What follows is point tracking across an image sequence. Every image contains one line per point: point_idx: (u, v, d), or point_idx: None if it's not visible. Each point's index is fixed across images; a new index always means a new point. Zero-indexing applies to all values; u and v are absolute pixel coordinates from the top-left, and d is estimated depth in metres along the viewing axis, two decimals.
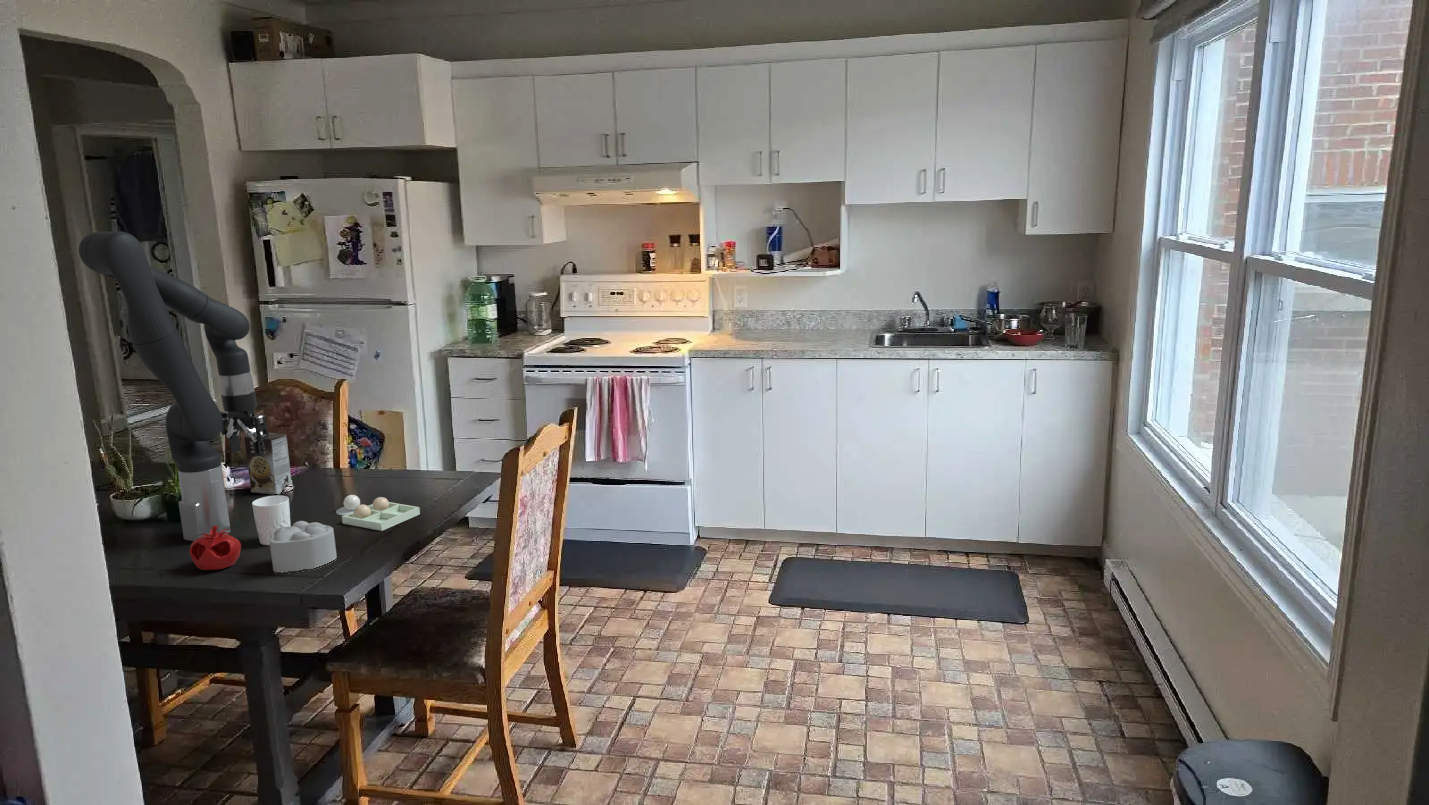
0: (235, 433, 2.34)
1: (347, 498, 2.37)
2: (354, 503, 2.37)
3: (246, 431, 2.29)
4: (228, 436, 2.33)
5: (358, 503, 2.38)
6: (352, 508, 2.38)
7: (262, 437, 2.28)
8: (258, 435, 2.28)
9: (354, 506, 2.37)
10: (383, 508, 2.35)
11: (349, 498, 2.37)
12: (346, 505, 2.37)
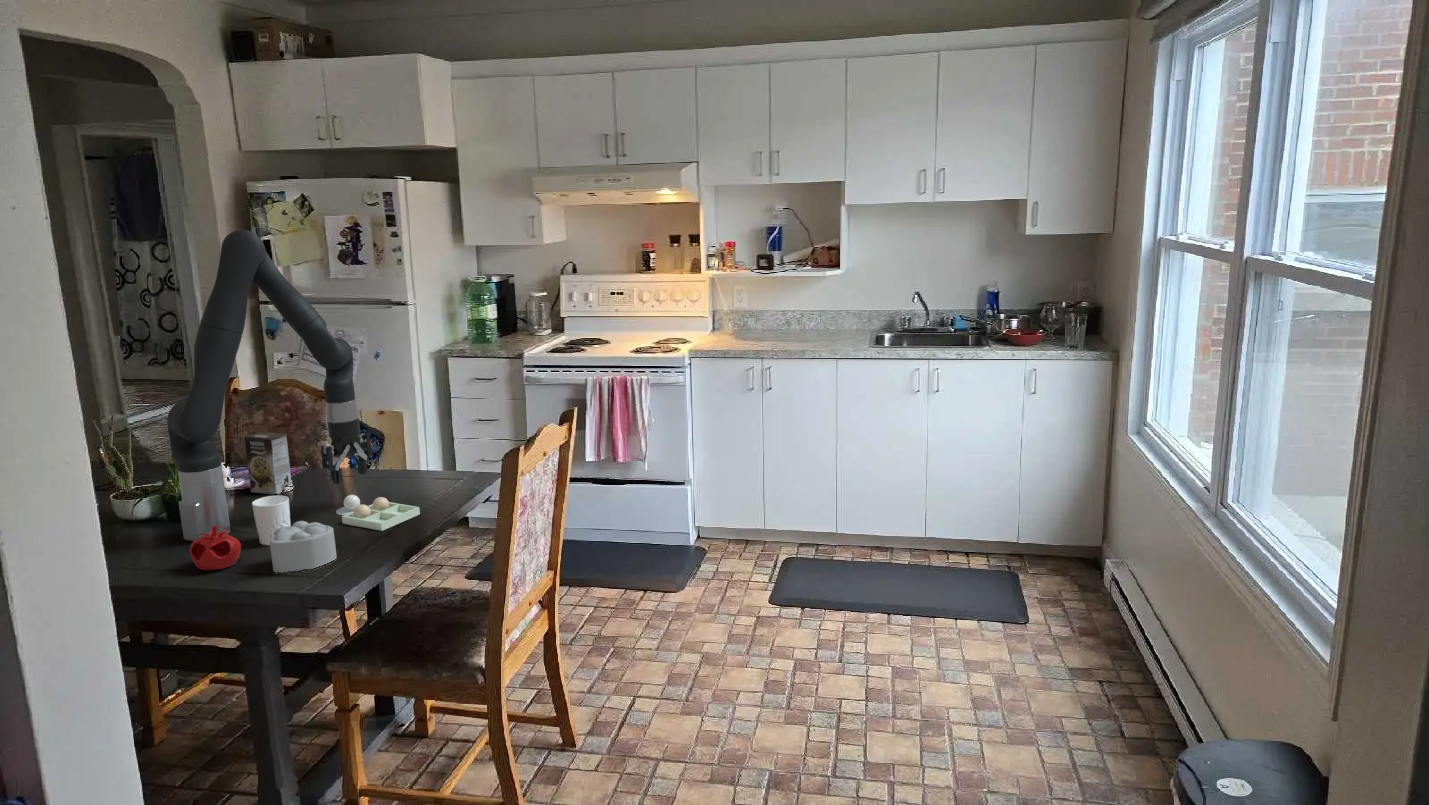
0: None
1: (347, 498, 2.37)
2: (354, 503, 2.37)
3: (361, 451, 2.39)
4: (338, 468, 2.32)
5: (358, 503, 2.38)
6: (352, 508, 2.38)
7: None
8: (370, 451, 2.42)
9: (354, 506, 2.37)
10: (383, 508, 2.35)
11: (349, 498, 2.37)
12: (346, 505, 2.37)
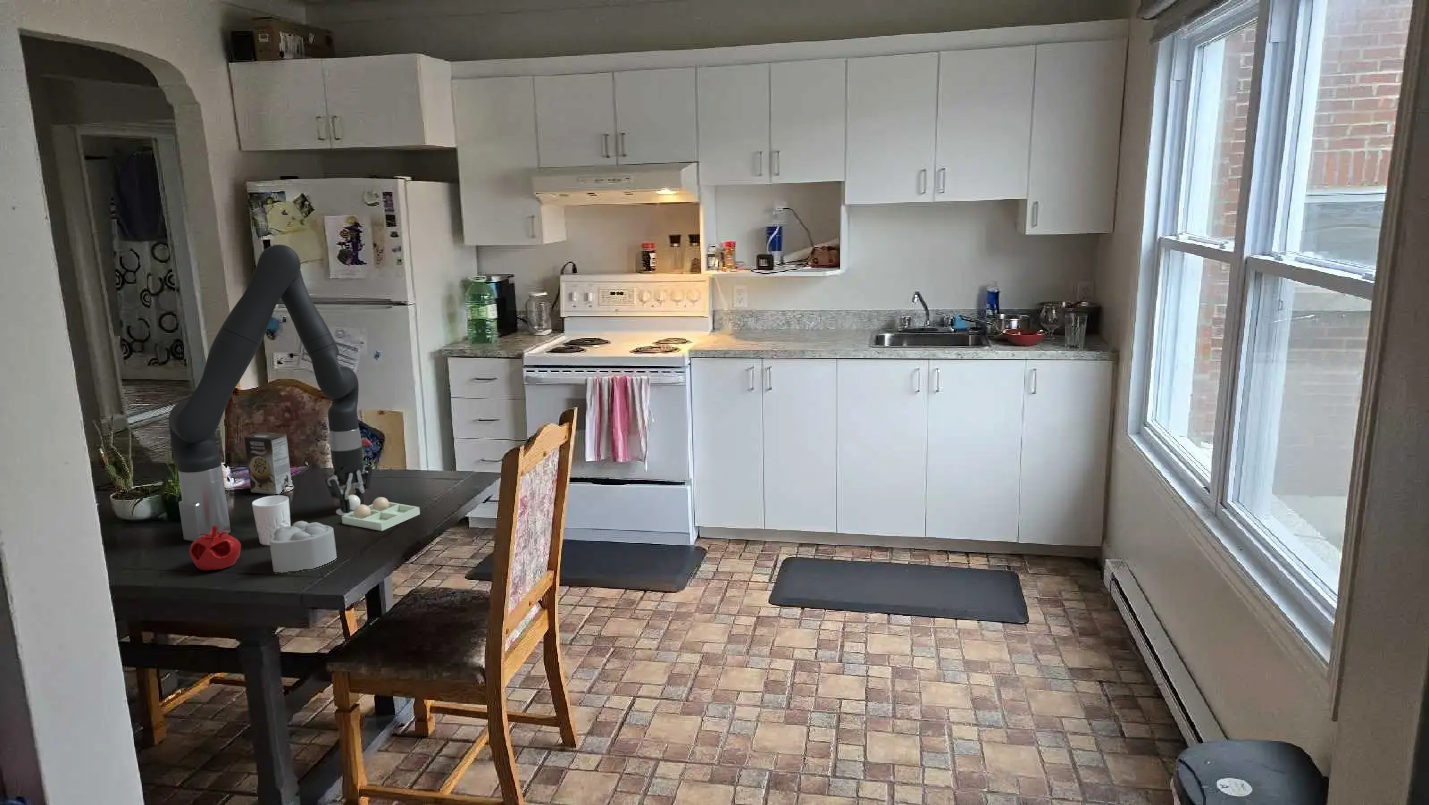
0: (342, 494, 2.36)
1: None
2: (354, 503, 2.37)
3: (361, 482, 2.39)
4: (347, 497, 2.36)
5: (358, 503, 2.38)
6: (352, 508, 2.38)
7: None
8: (368, 484, 2.42)
9: (354, 506, 2.38)
10: (383, 508, 2.35)
11: (349, 497, 2.37)
12: None
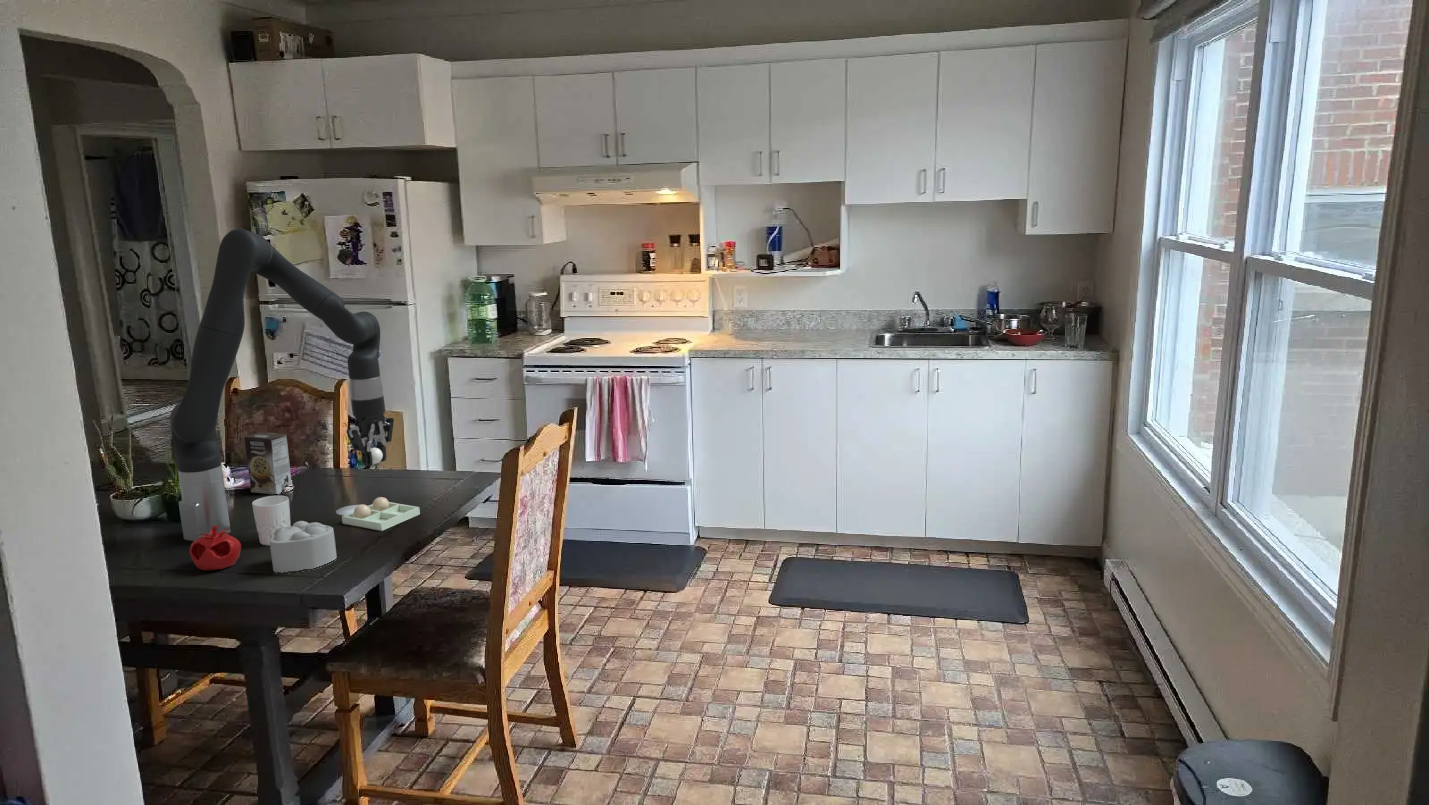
0: None
1: None
2: (376, 456, 2.26)
3: (383, 434, 2.27)
4: (369, 449, 2.24)
5: (381, 456, 2.27)
6: (375, 461, 2.26)
7: None
8: (390, 436, 2.30)
9: (377, 459, 2.26)
10: (383, 508, 2.35)
11: (371, 450, 2.26)
12: None
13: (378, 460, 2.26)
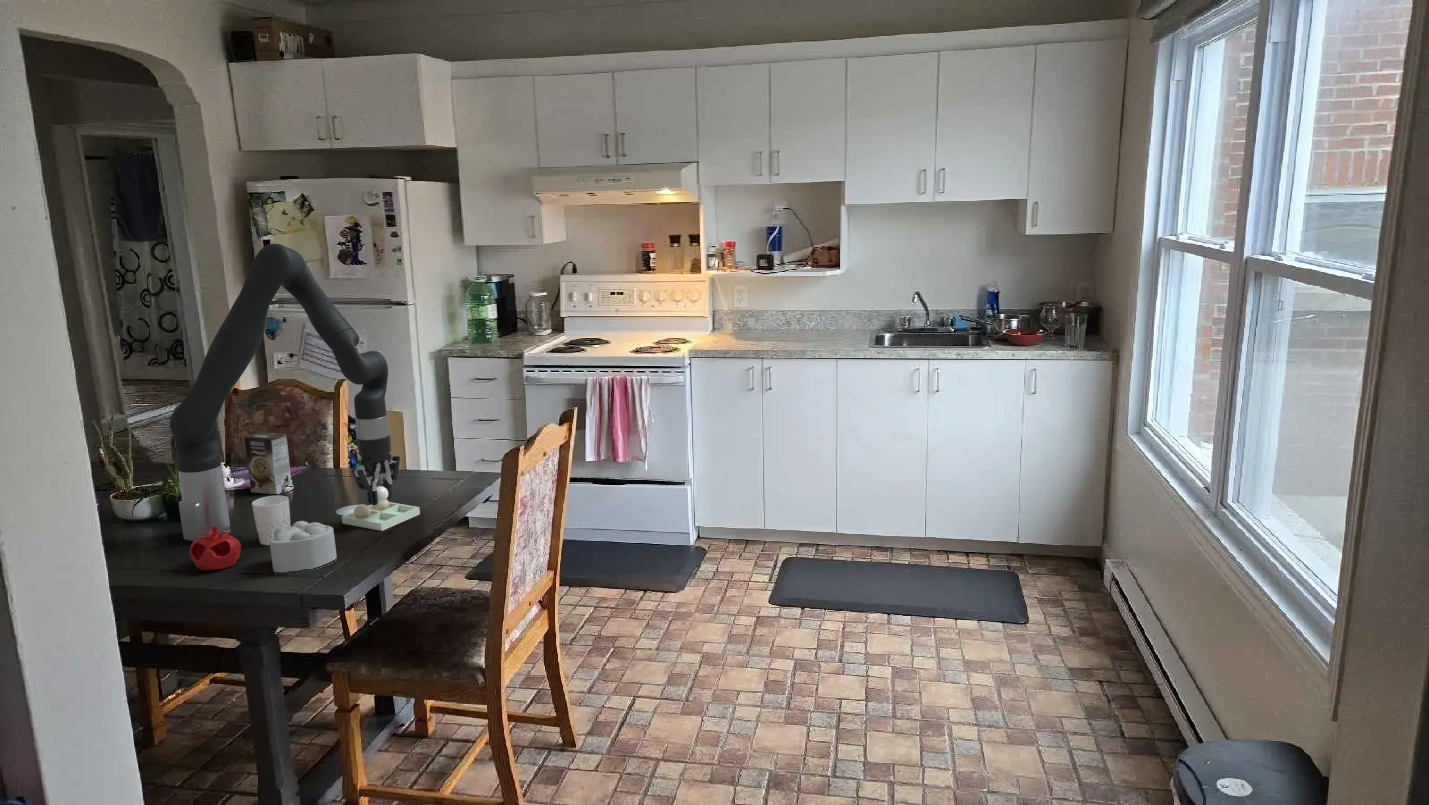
0: None
1: None
2: (382, 495, 2.25)
3: (389, 473, 2.27)
4: (374, 488, 2.24)
5: (386, 495, 2.27)
6: (380, 500, 2.26)
7: None
8: (396, 475, 2.30)
9: (382, 498, 2.26)
10: (383, 508, 2.35)
11: (377, 489, 2.26)
12: None
13: (384, 499, 2.26)
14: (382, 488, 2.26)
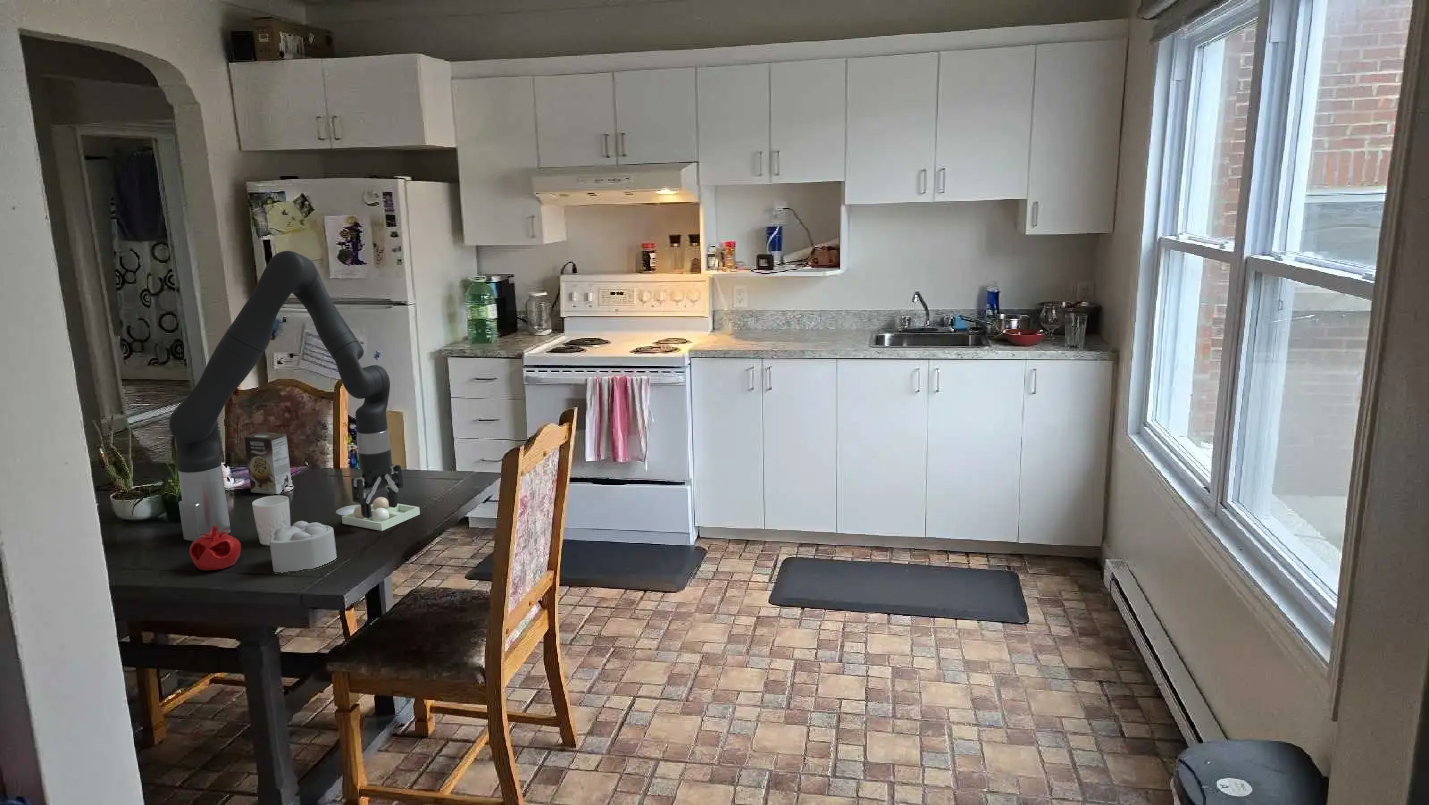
0: None
1: (376, 511, 2.26)
2: (383, 517, 2.26)
3: (392, 484, 2.28)
4: (368, 501, 2.22)
5: (387, 516, 2.27)
6: None
7: None
8: (401, 483, 2.32)
9: (383, 520, 2.27)
10: None
11: (378, 511, 2.26)
12: (375, 518, 2.26)
13: None
14: (383, 510, 2.27)
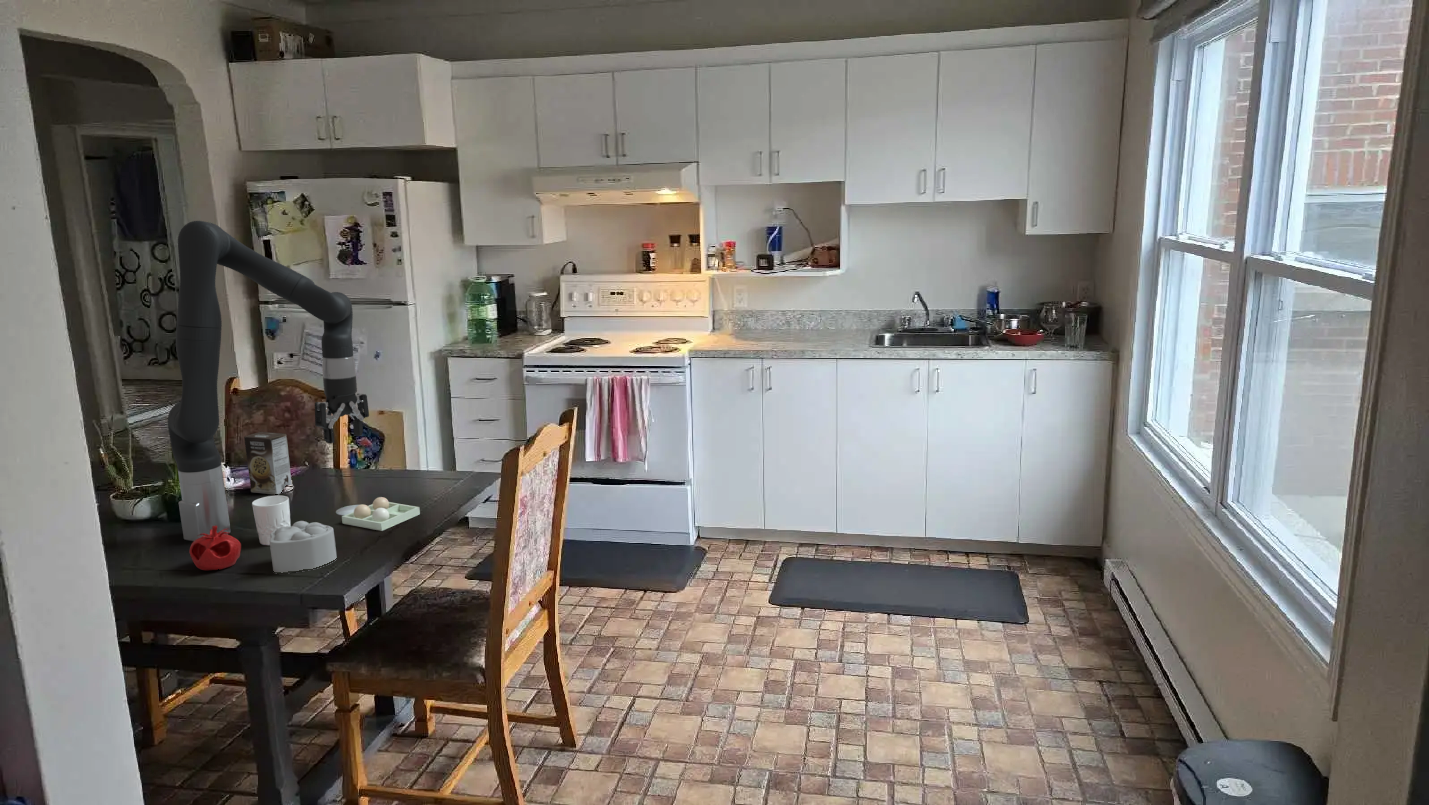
0: None
1: (376, 511, 2.26)
2: (383, 517, 2.26)
3: (357, 412, 2.30)
4: (331, 426, 2.24)
5: (387, 517, 2.27)
6: None
7: None
8: (367, 412, 2.33)
9: (383, 520, 2.27)
10: None
11: (378, 511, 2.26)
12: (375, 518, 2.26)
13: None
14: (383, 510, 2.27)
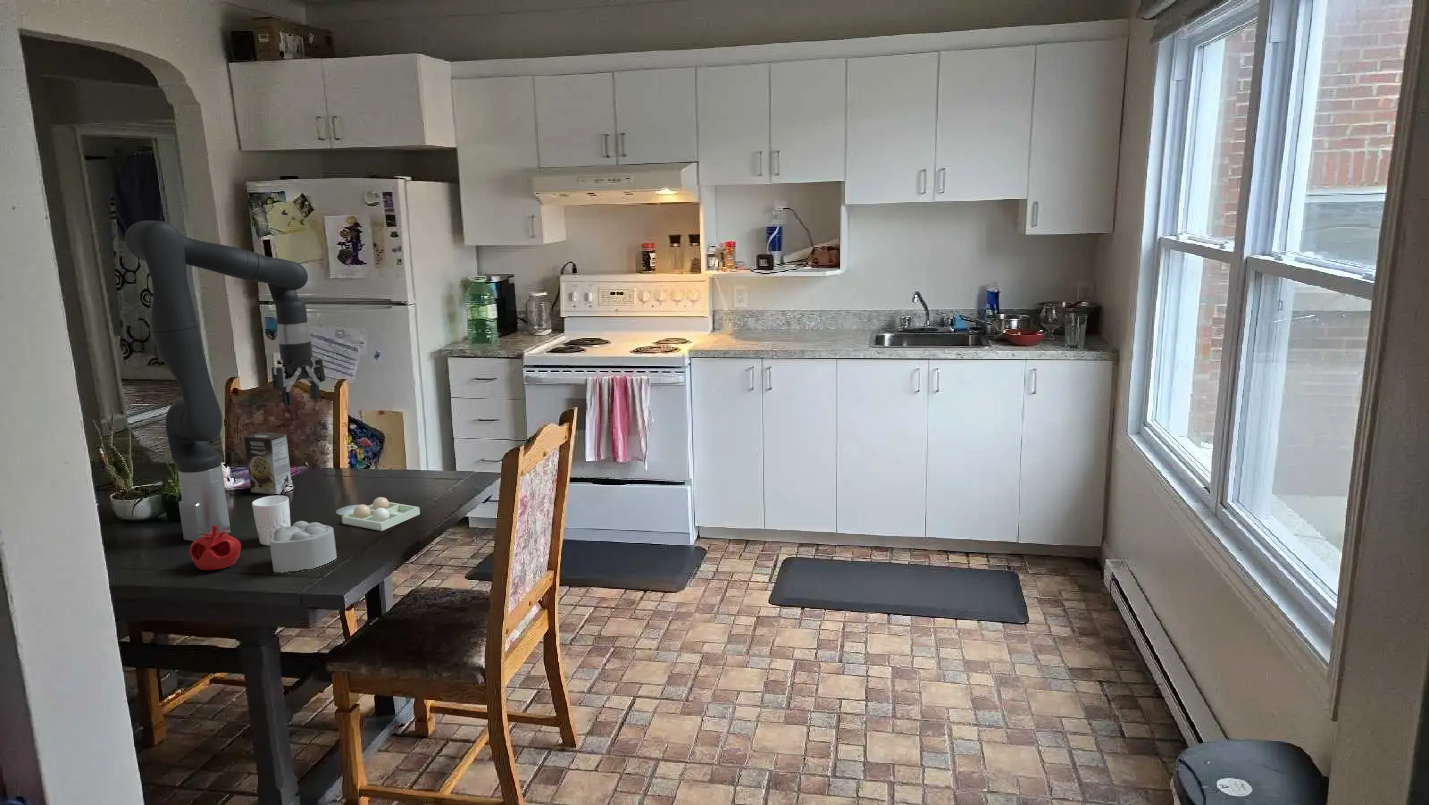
0: None
1: (376, 511, 2.26)
2: (383, 517, 2.26)
3: (313, 376, 2.40)
4: (288, 390, 2.34)
5: (388, 517, 2.27)
6: None
7: None
8: (323, 376, 2.43)
9: (383, 520, 2.27)
10: None
11: (378, 511, 2.26)
12: (375, 518, 2.26)
13: None
14: (383, 510, 2.27)
